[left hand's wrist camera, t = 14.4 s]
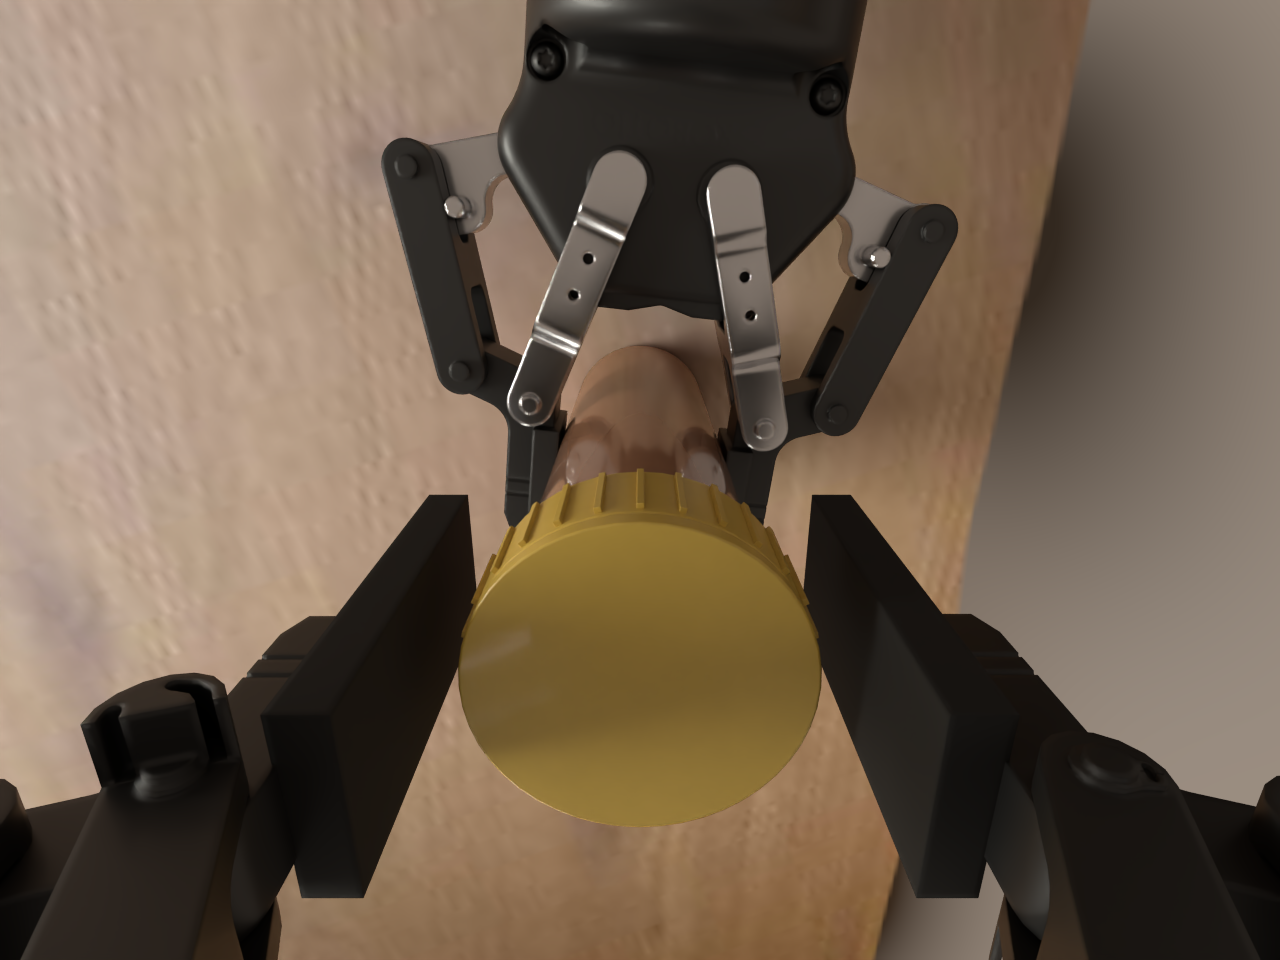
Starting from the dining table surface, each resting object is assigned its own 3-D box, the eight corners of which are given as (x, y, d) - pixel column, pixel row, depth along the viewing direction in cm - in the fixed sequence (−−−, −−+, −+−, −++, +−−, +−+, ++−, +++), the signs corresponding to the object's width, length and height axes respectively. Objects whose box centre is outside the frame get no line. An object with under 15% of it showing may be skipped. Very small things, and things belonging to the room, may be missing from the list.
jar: (590, 474, 26) (527, 795, 12) (567, 355, 25) (461, 553, 10) (708, 456, 26) (798, 761, 11) (693, 336, 25) (772, 509, 10)
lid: (861, 615, 12) (903, 689, 10) (639, 789, 13) (639, 884, 11) (640, 397, 11) (640, 435, 9) (417, 613, 12) (376, 688, 10)
